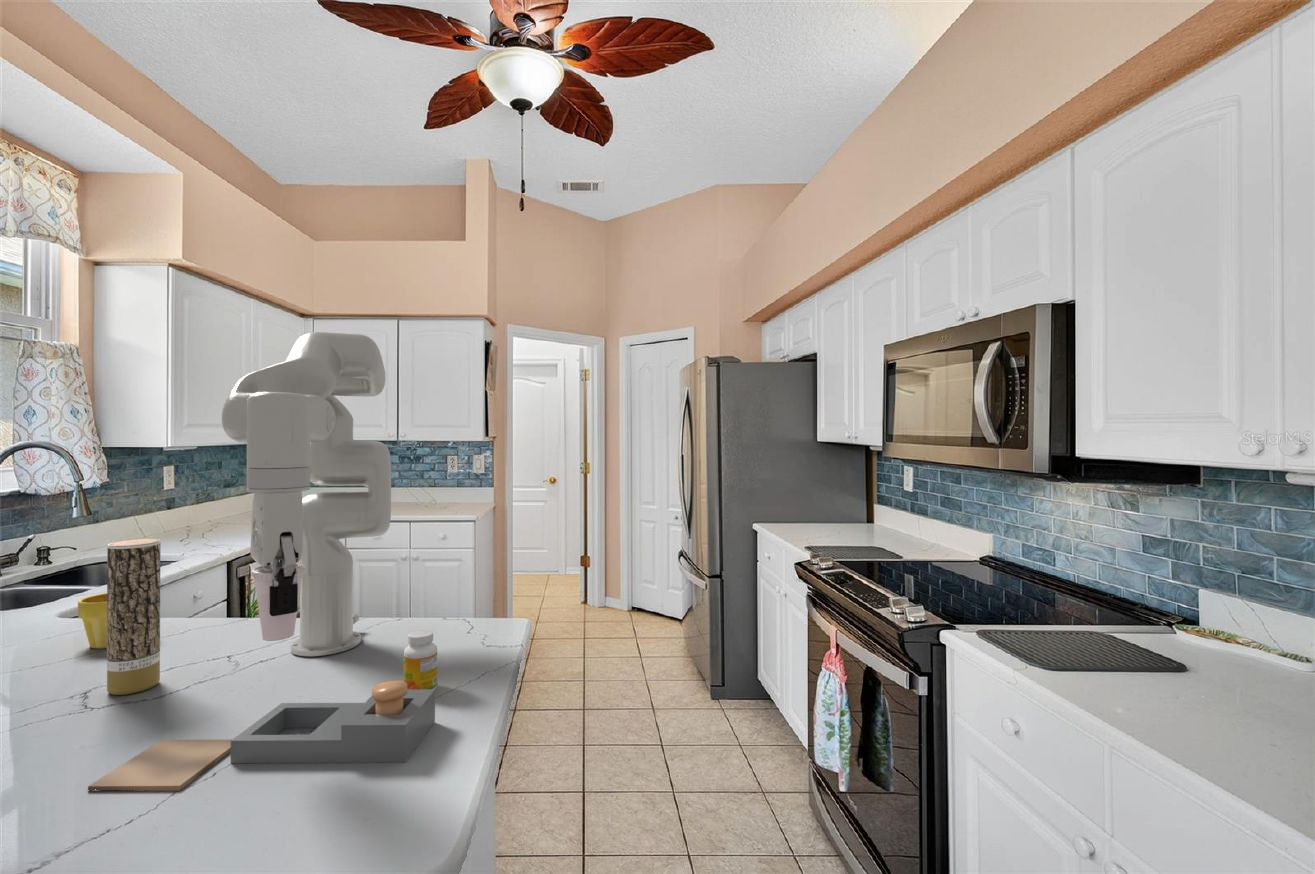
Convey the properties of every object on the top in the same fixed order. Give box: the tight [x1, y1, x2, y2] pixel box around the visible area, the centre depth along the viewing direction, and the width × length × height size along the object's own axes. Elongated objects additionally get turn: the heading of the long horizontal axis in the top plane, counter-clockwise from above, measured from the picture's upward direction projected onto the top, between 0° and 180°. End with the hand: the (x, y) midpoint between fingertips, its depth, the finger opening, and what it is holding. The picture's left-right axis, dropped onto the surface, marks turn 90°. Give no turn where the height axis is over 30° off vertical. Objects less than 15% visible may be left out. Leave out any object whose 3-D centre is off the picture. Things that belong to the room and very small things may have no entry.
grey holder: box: [230, 689, 436, 764], centre depth 84 cm, size 11×23×5 cm, turn 91°
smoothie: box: [251, 559, 305, 642], centre depth 83 cm, size 6×6×14 cm
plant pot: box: [77, 592, 107, 650], centre depth 122 cm, size 10×10×10 cm
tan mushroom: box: [371, 680, 407, 714], centre depth 84 cm, size 5×5×7 cm
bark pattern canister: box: [106, 538, 161, 696], centre depth 101 cm, size 7×7×25 cm
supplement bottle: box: [403, 629, 438, 690], centre depth 101 cm, size 5×5×10 cm
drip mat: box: [87, 738, 232, 792], centre depth 78 cm, size 11×11×1 cm
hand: (278, 606), depth 83 cm, fingers closed on smoothie, 6 cm apart
